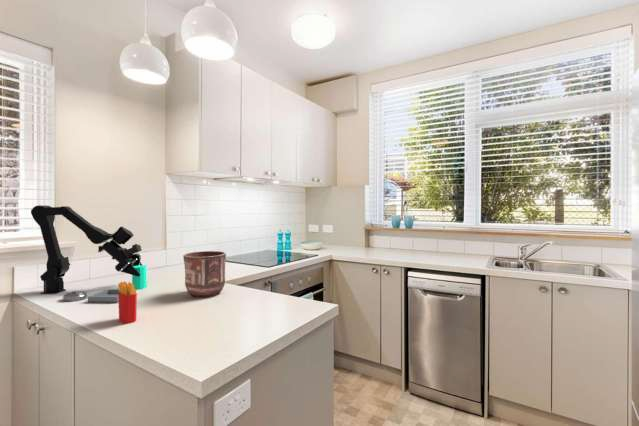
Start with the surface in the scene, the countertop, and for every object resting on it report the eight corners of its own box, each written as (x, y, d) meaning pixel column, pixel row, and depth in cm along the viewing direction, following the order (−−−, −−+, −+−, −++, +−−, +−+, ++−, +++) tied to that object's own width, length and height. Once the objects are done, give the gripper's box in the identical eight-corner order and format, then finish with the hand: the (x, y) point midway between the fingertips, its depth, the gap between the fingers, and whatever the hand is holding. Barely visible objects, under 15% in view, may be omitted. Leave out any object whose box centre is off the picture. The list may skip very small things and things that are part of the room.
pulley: (58, 301, 130) (58, 294, 130) (73, 296, 138) (73, 289, 138) (77, 301, 130) (77, 294, 130) (91, 296, 138) (91, 289, 138)
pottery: (199, 287, 154) (198, 250, 153) (232, 289, 150) (232, 251, 150) (175, 298, 137) (174, 256, 136) (212, 300, 133) (212, 257, 132)
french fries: (139, 321, 108) (138, 283, 108) (124, 325, 105) (124, 285, 105) (129, 315, 114) (129, 279, 114) (116, 318, 111) (115, 281, 111)
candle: (149, 287, 154) (149, 262, 154) (137, 290, 149) (137, 264, 149) (141, 285, 157) (141, 261, 157) (129, 288, 151) (129, 263, 151)
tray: (87, 302, 129) (87, 296, 129) (108, 294, 141) (107, 288, 141) (117, 303, 129) (117, 296, 129) (134, 294, 141) (134, 289, 141)
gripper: (122, 241, 142) (150, 264, 145) (136, 237, 160) (160, 258, 163) (103, 259, 141) (131, 283, 143) (118, 253, 159) (143, 274, 162)
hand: (142, 273), depth 153 cm, fingers open, 9 cm apart
